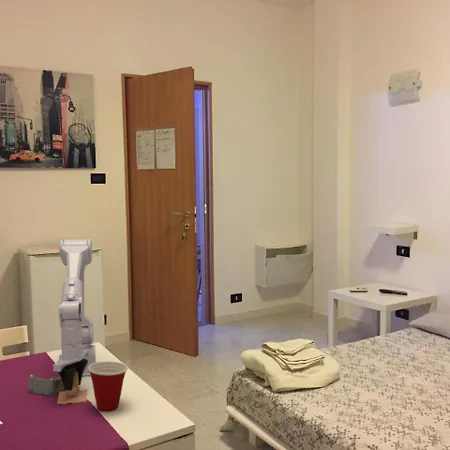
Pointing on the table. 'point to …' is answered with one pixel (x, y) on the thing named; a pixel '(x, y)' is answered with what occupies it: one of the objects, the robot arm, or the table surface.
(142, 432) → the table surface
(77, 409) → the table surface
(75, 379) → the oak dowel
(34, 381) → the bent rail
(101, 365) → the plastic cup
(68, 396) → the coaster
